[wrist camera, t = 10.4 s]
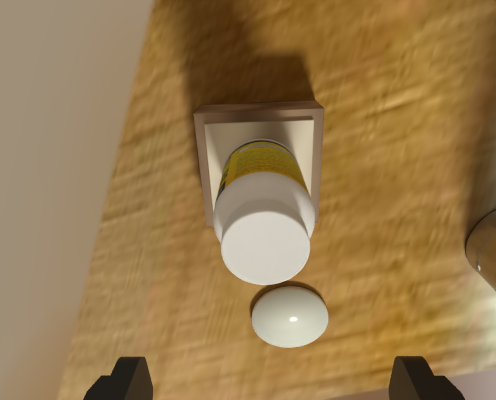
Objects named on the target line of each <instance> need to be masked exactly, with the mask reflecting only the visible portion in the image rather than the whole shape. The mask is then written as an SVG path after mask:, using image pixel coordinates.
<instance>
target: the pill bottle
mask: <svg viewBox="0 0 496 400" xmlns="http://www.w3.org/2000/svg"><path fill="white" fill-rule="evenodd" d="M213 224H214V229H215V233H216V235H217V238H218V240H219V241H220V243H221V254H222V258H223V260H224V262H225V264H226V266H227V267H228V269H229V270H230V271H231V272H232V273H233V274H234V275H236V276H237V277H238V278H240V279H242V280H244V281H246V282H249V283H253V284H258V285H272V284H277V283H281V282H283V281H286V280H288V279H290V278H292V277H293V276H294V275H296V274H297V273H298V272H299V271H300V270H301V269H302V268H303V267H304V265H305V263H306V262H307V259H308V256H309V253H310V240H309V239H310V237H311V235H312V233H313V229H314V224H315V211H314V207H313V203H312V200H311V197H310V194H309V192H308V189H307V186H306V184H305V181H304V178H303V175H302V172H301V170H300V167H299V164H298V162H297V160H296V158H295V156H294V155H293V153H292V152H291V151H290V150H289V149H288V148H287V147H286V146H284V145H283V144H281V143H279V142H277V141H274V140H270V139H253V140H250V141H247V142H245V143H243V144H241V145H239V146H238V147H237V148H235V149H234V150H233V152H232V153H231V154H230V155H229V157H228V159H227V161H226V163H225V166H224V169H223V173H222V177H221V182H220V185H219V190H218V194H217V198H216V202H215V207H214V212H213Z"/></svg>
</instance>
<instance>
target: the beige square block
mask: <svg viewBox="0 0 496 400" xmlns="http://www.w3.org/2000/svg"><path fill="white" fill-rule="evenodd" d="M194 122H195V131H196V140H197V149H198V157H199V166H200V175H201V184H202V192H203V201H204V210H205V218H206V226H214V224H213V212H214V207H215V202H216V198H217V194H218V190H219V185H220V182H221V177H222V173H223V169H224V166H225V163H226V161H227V159H228V157H229V155H230V154H231V153H232V152H233V150H234V149H235V148H237V147H238V146H239V145H241V144H243V143H245V142H247V141H250V140H253V139H270V140H274V141H277V142H279V143H281V144H283V145H284V146H286V147H287V148H288V149H289V150H290V151H291V152H292V153H293V155H294V156H295V158H296V160H297V162H298V164H299V167H300V170H301V172H302V175H303V178H304V181H305V184H306V186H307V189H308V192H309V194H310V197H311V200H312V203H313V207H314V211H315V223H318V212H319V194H320V177H321V159H322V141H323V123H324V108H323V107H322V106H321V105H320V104H319V103H318V102H317V101H316V100H309V101H286V102H262V103H239V104H215V105H201V106H200V107H199V108H198V109H197V110H196V112H195V113H194Z"/></svg>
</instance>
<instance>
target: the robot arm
mask: <svg viewBox="0 0 496 400" xmlns="http://www.w3.org/2000/svg"><path fill="white" fill-rule="evenodd" d="M466 256H467V259H468V261H469V263H470V265H471V266H472V267H473V268H474V269H475V270H476V271H477V272H478V273H479V274H480V275H481V276H482V277H483V278H484V279H485V280H486V281H487V282H488V284H489V285H490V286H491V287H492V288H493V289H494V290H495V291H496V210H495V211H493V212H492V213H490V214H489V215H488V216H486V217H485V218H484V219H482V220H481V221H480V222H479V224H478V225H477V226H476V227H475V228H474V230H473V231H472V233H471V234H470V236H469V239H468V241H467V246H466ZM389 399H390V400H465V398H464V397H463V395H462V393H461V392H460V391H459V390H458V389H457V388H456V387H455V386H454V385H453V384H452V383H451V382H450V381H449V380H448V379H447V378H446V377H445V376H434V374H433V373H432V371H431V369H430V367H429V365H428V363H427V361H426V360H425V359H424V358H423V357H422V356H397V357H396V358H395V360H394V365H393V370H392V374H391V379H390V384H389ZM83 400H153V386H152V382H151V378H150V374H149V370H148V366H147V362H146V359H145V357H120V358H119V359H118V361H117V362H116V364H115V367H114V369H113V371H112V373H111V376H101V377H100V378H99V379H98V380H97V381H96V382H95V383H94V384H93V385H92V387H91V388H90V389H89V390H88V391H87V393H86V395H85V397H84V399H83Z"/></svg>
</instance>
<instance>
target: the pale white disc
mask: <svg viewBox="0 0 496 400" xmlns="http://www.w3.org/2000/svg"><path fill="white" fill-rule="evenodd" d="M327 324H328V312H327V308H326V306H325V303H324V302H323V300H322V299H321V298H320V297H319V296H318V295H317V294H316V293H314V292H313V291H311V290H308V289H306V288H302V287H296V286H285V287H279V288H276V289H273V290H271V291H269V292H267V293H265V294H264V295H262V296H261V297H260V298H259V299H258V300H257V302H256V303H255V305H254V307H253V311H252V325H253V328H254V330H255V332H256V333H257V335H258V336H259V337H260V338H261V339H263V340H264V341H266V342H267V343H269V344H272V345H275V346H279V347H299V346H303V345H306V344H308V343H311V342H312V341H314V340H316V339H317V338H318V337H319V336H320V335H321V334H322V333H323V332H324V331H325V329H326V327H327Z"/></svg>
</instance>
